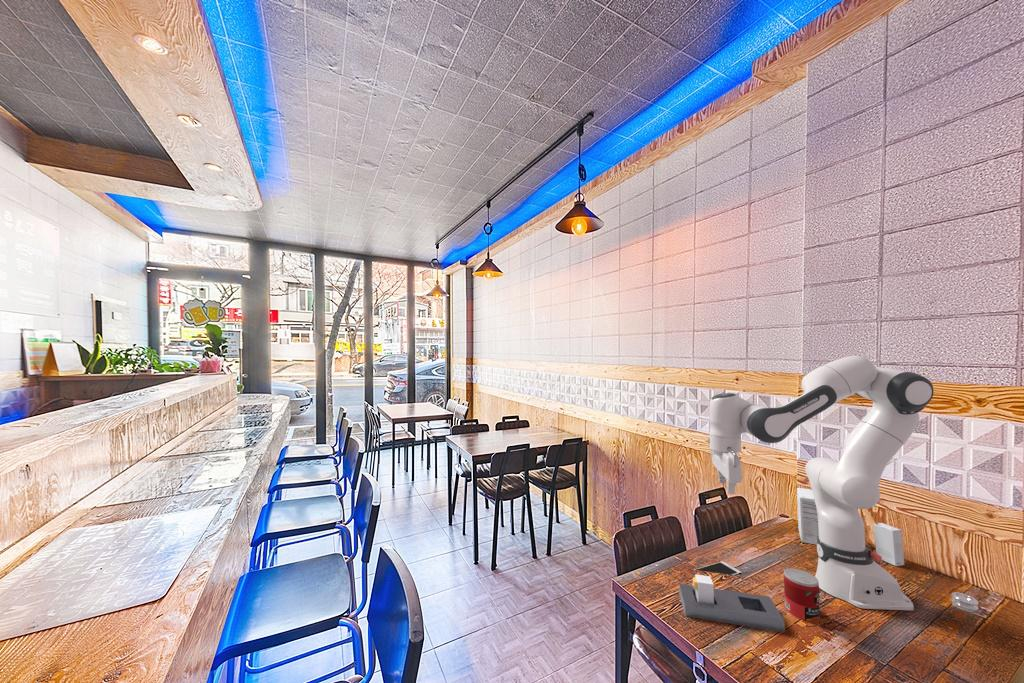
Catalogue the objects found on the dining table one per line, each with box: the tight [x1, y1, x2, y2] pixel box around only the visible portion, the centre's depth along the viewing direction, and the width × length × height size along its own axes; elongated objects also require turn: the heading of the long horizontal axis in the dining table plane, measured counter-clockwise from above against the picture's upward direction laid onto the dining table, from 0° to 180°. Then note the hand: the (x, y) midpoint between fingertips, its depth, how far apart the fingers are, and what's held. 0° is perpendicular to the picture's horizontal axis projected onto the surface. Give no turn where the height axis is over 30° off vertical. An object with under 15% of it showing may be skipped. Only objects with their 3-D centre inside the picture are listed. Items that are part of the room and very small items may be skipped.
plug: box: [692, 573, 715, 604], centre depth 108 cm, size 5×4×8 cm
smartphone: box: [693, 560, 742, 576], centre depth 126 cm, size 7×16×1 cm, turn 111°
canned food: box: [783, 567, 821, 623], centre depth 105 cm, size 8×8×11 cm
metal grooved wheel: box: [950, 591, 980, 614], centre depth 109 cm, size 5×3×5 cm
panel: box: [678, 583, 786, 633], centre depth 106 cm, size 24×10×4 cm, turn 75°
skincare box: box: [873, 522, 905, 567], centre depth 133 cm, size 6×4×12 cm
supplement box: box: [796, 487, 819, 546], centre depth 149 cm, size 13×13×18 cm
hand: (726, 487), depth 119 cm, fingers open, 8 cm apart
